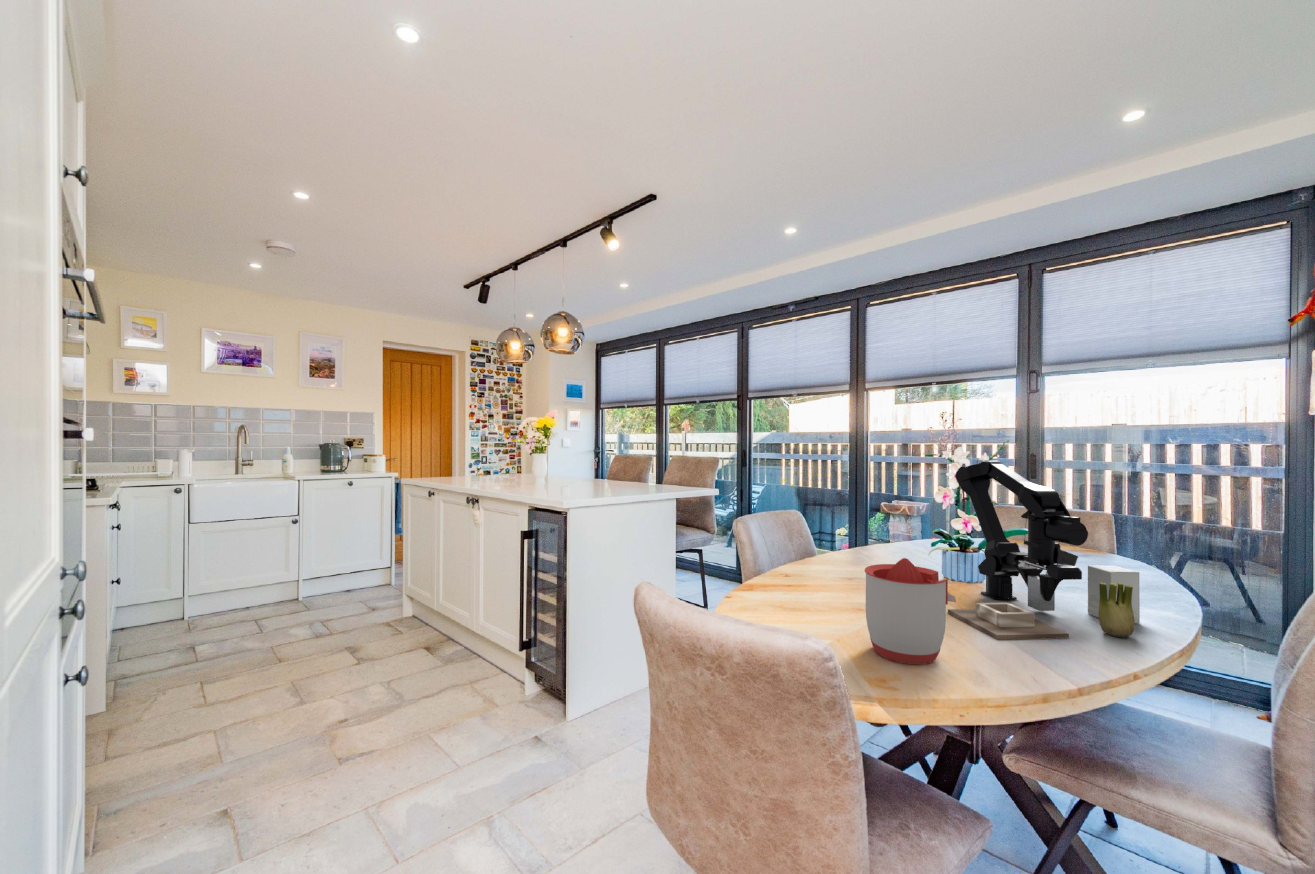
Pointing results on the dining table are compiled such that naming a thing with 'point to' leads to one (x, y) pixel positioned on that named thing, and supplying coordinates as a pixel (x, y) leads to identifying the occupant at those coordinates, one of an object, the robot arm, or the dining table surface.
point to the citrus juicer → (906, 611)
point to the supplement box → (1108, 577)
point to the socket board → (1007, 622)
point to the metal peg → (1038, 595)
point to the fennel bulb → (1116, 610)
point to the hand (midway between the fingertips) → (1041, 598)
